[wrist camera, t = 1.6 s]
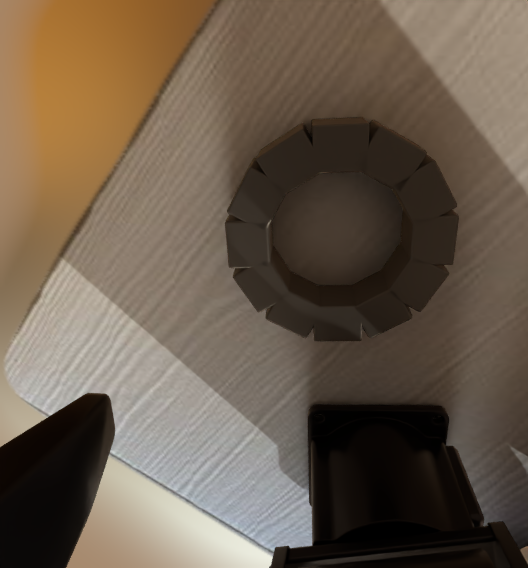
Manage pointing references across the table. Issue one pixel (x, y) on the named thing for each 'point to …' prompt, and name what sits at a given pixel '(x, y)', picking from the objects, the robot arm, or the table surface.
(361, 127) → the ring
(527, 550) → the perfume bottle
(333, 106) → the table surface
